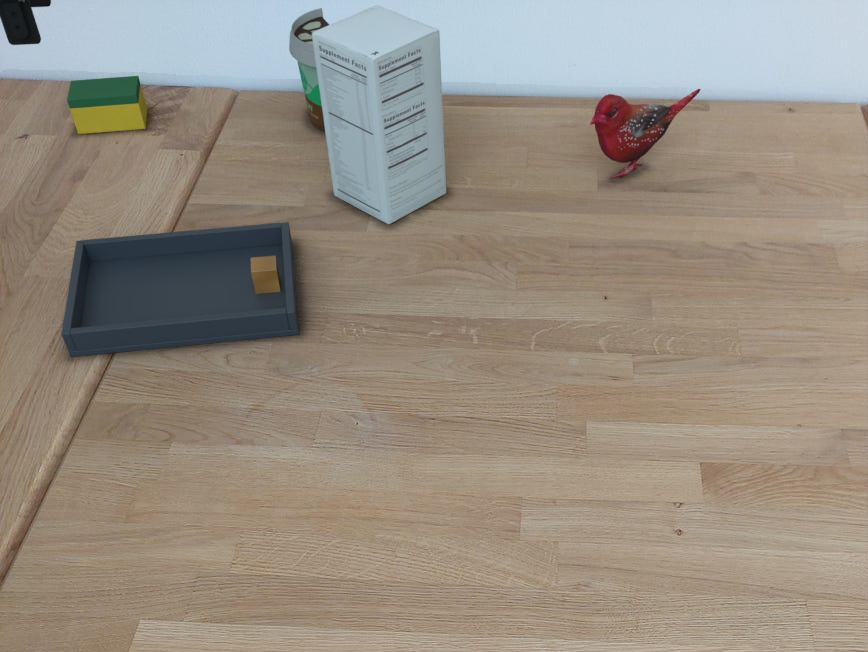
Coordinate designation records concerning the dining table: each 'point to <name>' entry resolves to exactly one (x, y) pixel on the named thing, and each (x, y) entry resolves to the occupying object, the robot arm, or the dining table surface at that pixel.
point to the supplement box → (382, 111)
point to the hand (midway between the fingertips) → (31, 24)
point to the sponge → (107, 104)
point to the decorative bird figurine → (632, 127)
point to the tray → (177, 290)
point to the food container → (308, 61)
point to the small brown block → (265, 274)
